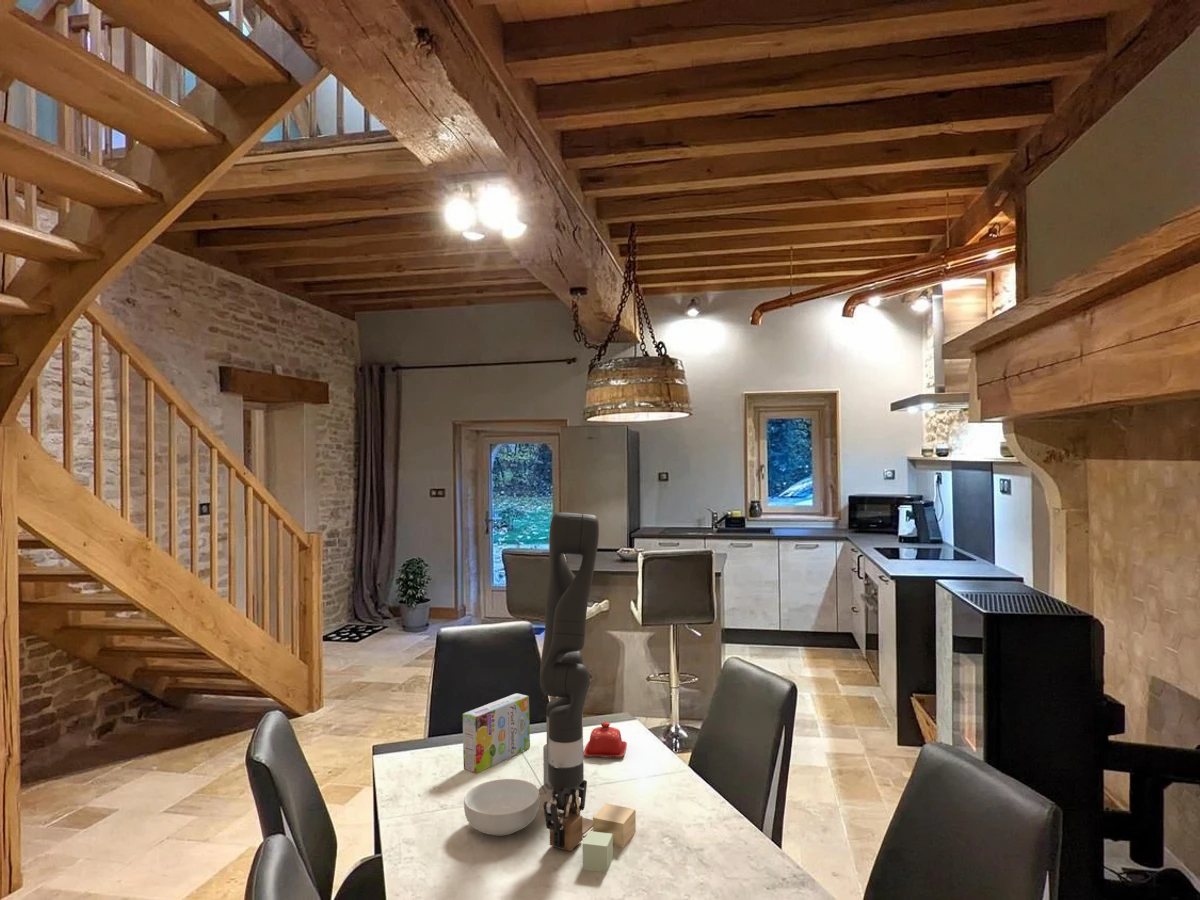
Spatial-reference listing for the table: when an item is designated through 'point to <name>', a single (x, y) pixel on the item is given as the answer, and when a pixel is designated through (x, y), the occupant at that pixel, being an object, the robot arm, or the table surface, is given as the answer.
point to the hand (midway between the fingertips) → (566, 840)
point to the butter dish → (605, 742)
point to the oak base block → (616, 823)
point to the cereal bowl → (501, 806)
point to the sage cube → (597, 851)
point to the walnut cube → (570, 831)
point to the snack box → (495, 732)
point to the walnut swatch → (586, 826)
